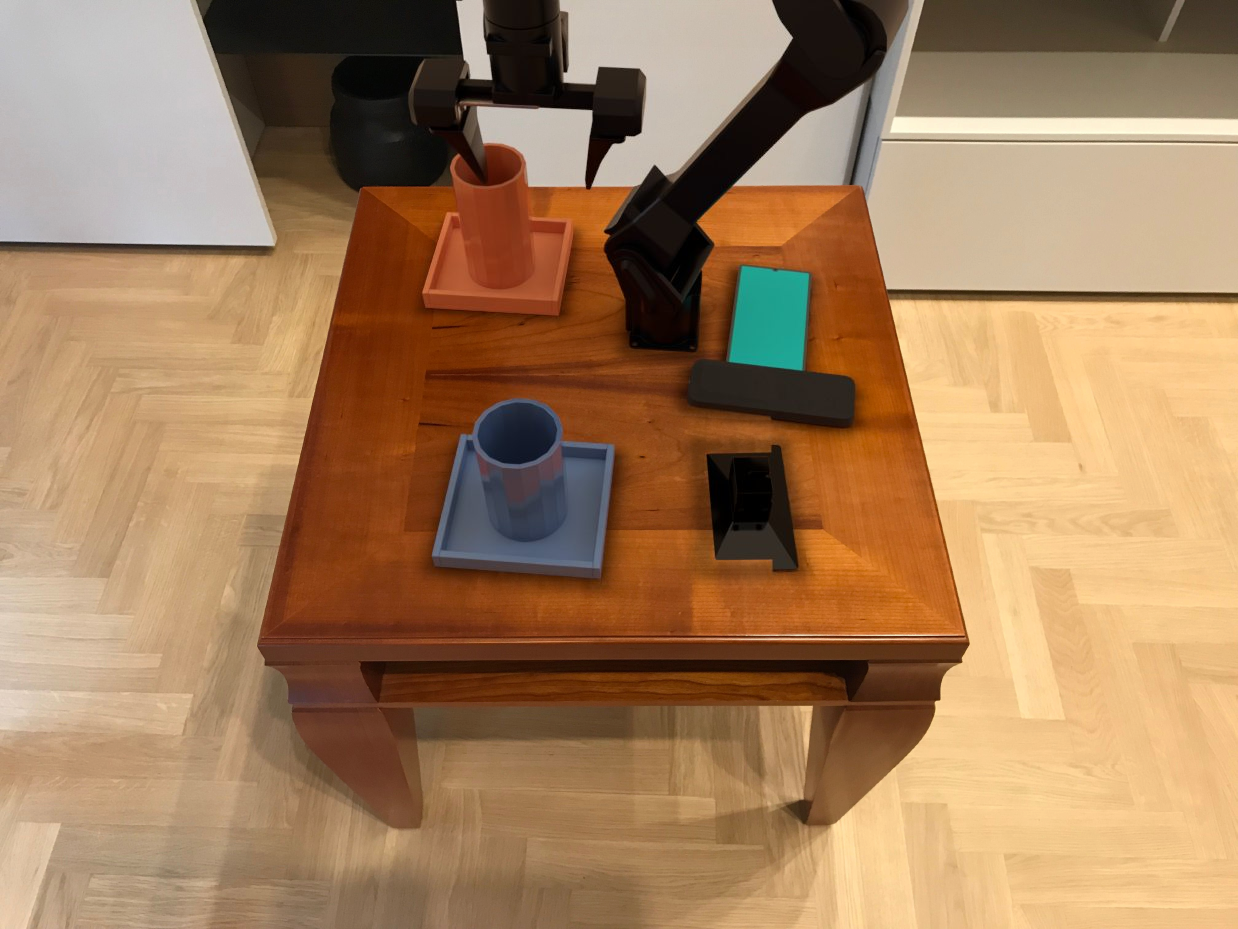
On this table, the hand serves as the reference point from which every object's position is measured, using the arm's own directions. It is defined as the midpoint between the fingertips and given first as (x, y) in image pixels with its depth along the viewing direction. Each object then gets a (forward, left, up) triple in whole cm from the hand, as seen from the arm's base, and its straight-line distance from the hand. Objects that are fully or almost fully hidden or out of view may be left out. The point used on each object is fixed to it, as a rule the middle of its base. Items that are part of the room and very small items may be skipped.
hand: (537, 183), depth 83 cm
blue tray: (-2, +26, -13) cm, 29 cm away
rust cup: (+5, -3, -12) cm, 14 cm away
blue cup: (-2, +26, -12) cm, 29 cm away
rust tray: (+5, -3, -13) cm, 14 cm away
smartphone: (-22, +3, -13) cm, 26 cm away
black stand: (-20, +24, -13) cm, 34 cm away
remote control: (-22, +12, -13) cm, 28 cm away
